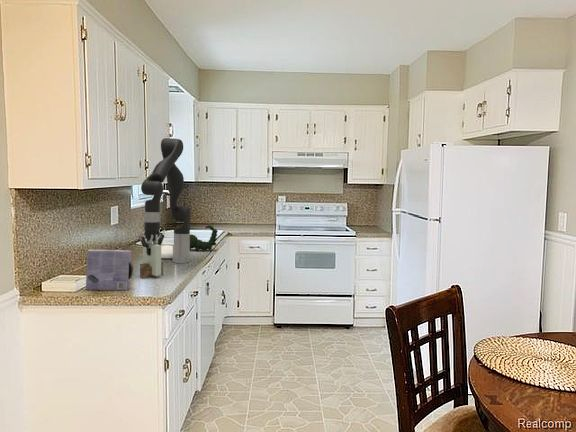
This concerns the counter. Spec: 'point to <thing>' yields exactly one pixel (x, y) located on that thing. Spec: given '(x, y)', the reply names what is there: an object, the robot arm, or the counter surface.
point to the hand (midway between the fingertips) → (151, 254)
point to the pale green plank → (153, 259)
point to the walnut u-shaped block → (148, 271)
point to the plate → (166, 251)
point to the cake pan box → (108, 270)
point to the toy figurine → (204, 245)
